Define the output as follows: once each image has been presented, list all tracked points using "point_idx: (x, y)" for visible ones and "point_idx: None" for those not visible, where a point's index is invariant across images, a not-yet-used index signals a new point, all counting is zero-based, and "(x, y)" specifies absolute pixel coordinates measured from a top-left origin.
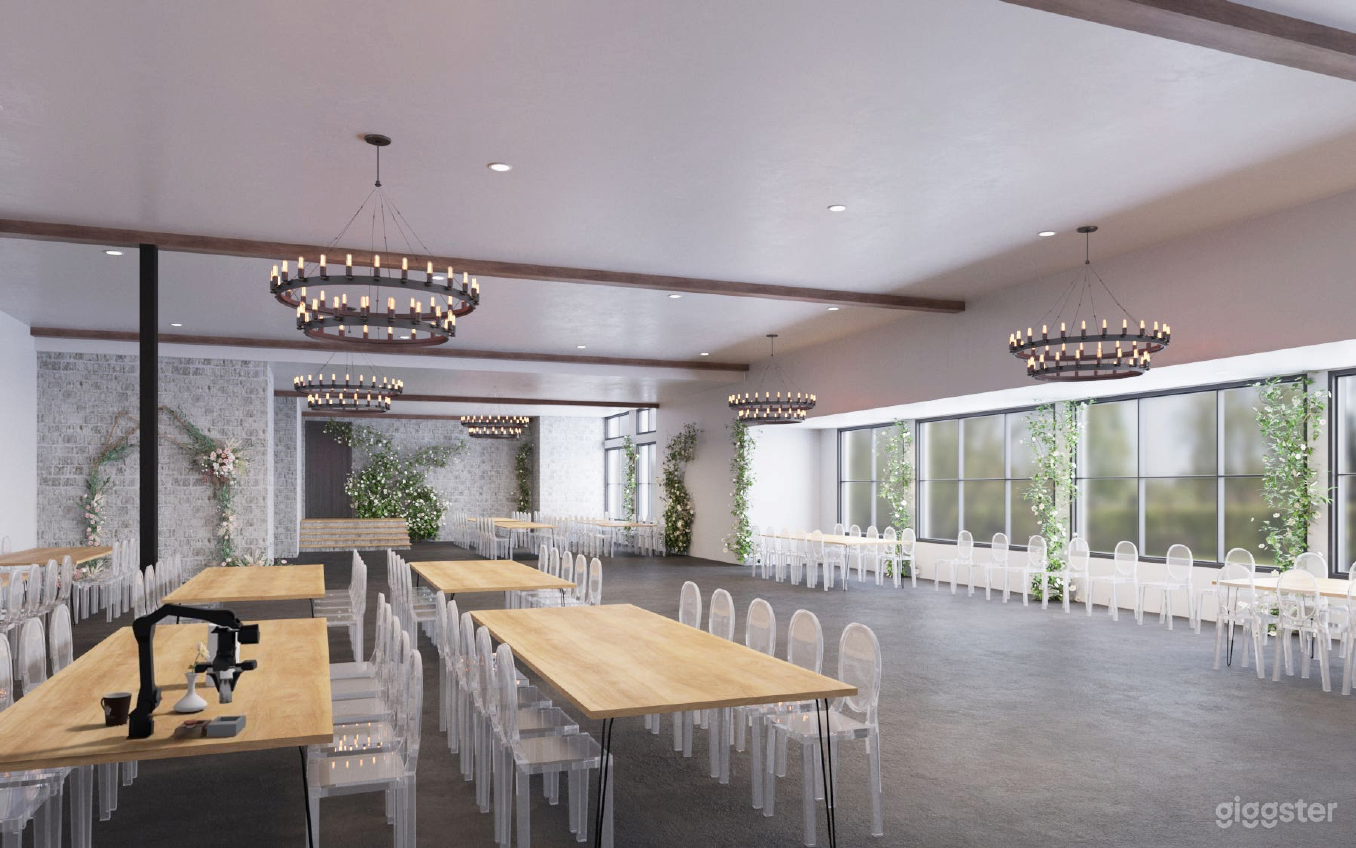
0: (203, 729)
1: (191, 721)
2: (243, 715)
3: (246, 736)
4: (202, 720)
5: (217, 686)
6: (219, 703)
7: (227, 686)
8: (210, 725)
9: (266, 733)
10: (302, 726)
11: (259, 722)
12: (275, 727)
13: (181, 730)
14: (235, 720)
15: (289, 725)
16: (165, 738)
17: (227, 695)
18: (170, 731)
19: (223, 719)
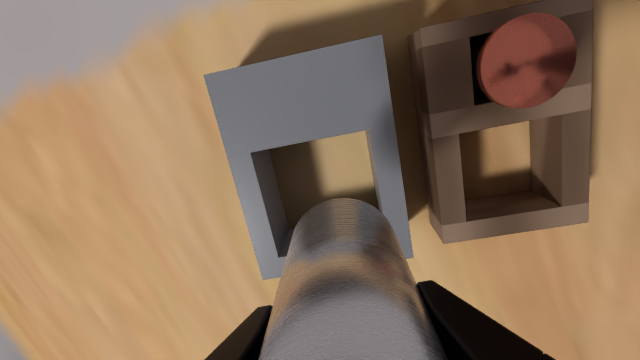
0: (421, 91)
1: (514, 43)
2: (274, 275)
3: (174, 77)
4: (490, 223)
5: (463, 324)
6: (379, 211)
7: (288, 316)
8: (361, 40)
9: (112, 140)
10: (33, 262)
11: None
12: (138, 245)
13: (539, 1)
14: None
15: (99, 277)
16: (608, 12)
17: (300, 245)
18: (628, 166)
19: None
